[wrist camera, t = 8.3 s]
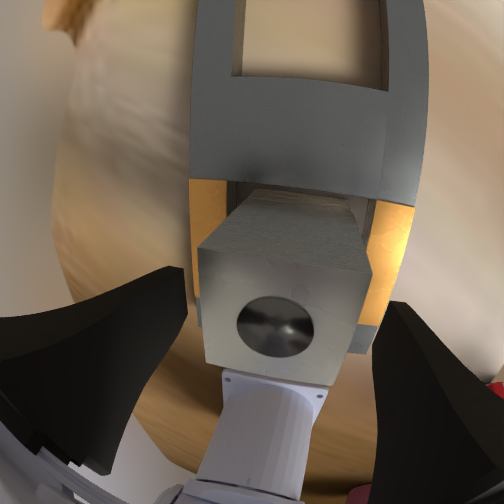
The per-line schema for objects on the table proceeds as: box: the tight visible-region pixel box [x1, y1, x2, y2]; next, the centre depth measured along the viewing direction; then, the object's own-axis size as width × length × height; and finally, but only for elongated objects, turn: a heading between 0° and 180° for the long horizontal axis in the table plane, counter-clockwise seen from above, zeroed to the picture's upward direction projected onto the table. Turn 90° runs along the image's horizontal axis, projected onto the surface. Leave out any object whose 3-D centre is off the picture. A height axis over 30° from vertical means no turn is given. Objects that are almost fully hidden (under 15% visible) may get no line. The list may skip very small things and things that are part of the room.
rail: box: [189, 0, 429, 354], centre depth 11 cm, size 22×10×2 cm, turn 177°
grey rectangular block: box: [197, 188, 373, 386], centre depth 11 cm, size 4×4×7 cm
